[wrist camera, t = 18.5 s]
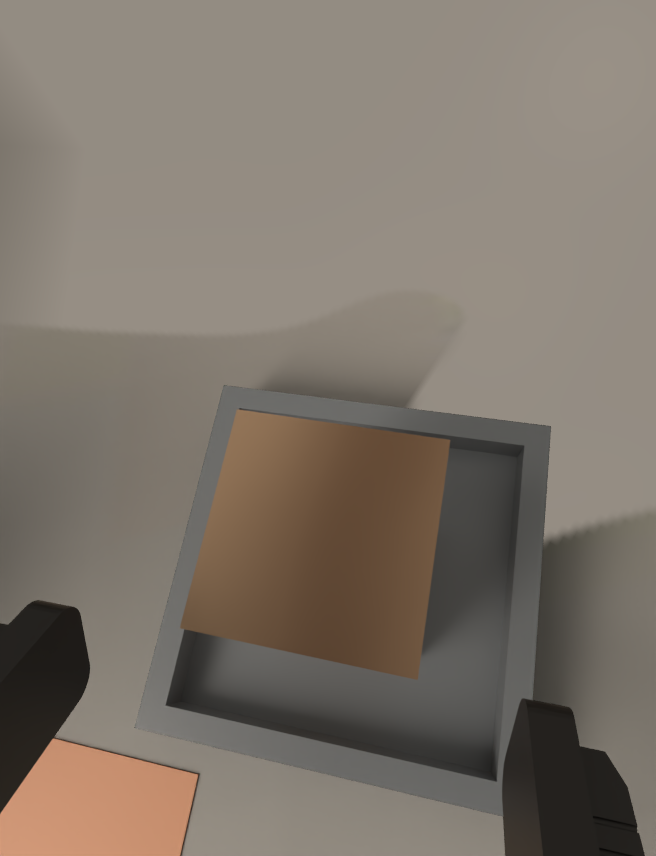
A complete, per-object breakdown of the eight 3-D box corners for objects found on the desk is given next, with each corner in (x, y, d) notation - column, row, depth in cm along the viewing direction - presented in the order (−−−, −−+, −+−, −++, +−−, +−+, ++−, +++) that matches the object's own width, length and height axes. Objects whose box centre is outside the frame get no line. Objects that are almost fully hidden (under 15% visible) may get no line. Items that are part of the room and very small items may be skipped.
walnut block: (275, 633, 20) (179, 627, 11) (303, 500, 21) (237, 409, 13) (411, 662, 19) (417, 680, 11) (431, 522, 20) (450, 439, 12)
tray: (157, 720, 20) (134, 727, 18) (236, 403, 23) (223, 385, 22) (512, 804, 18) (524, 821, 16) (539, 443, 21) (550, 426, 20)
